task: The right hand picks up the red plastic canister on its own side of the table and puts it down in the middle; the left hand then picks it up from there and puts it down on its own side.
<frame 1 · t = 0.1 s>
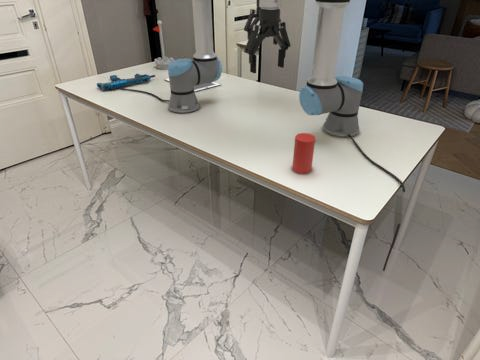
left hand: (267, 69, 131), 28 cm above the table, tool pointing down, fingers open, 13 cm apart
right hand: (263, 45, 167), 28 cm above the table, tool pointing down, fingers open, 13 cm apart
tablet: (192, 82, 209), on the table
submachine gun: (125, 82, 209), on the table
canister: (301, 168, 123), on the table
flag stand: (165, 67, 238), on the table
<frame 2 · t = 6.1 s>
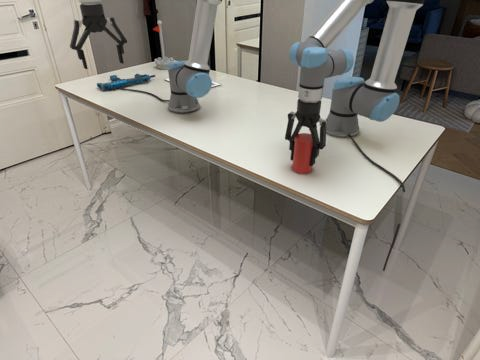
left hand: (104, 65, 130), 30 cm above the table, tool pointing down, fingers open, 13 cm apart
right hand: (302, 161, 121), 3 cm above the table, tool pointing down, fingers closed on canister, 7 cm apart
canister: (301, 168, 123), on the table, touching right hand
everything else where it was.
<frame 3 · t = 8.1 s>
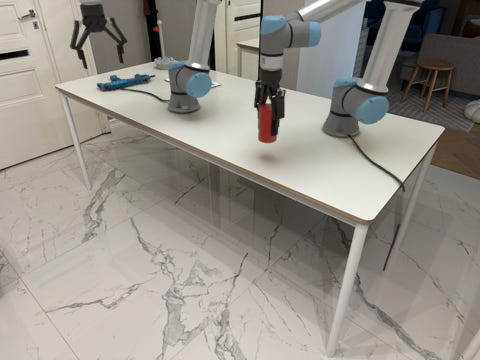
left hand: (104, 65, 130), 30 cm above the table, tool pointing down, fingers open, 13 cm apart
right hand: (267, 131, 125), 11 cm above the table, tool pointing down, fingers closed on canister, 7 cm apart
canister: (267, 139, 126), point 7 cm above the table, touching right hand
everything else where it was.
when the right hand's fingers open (5 cm above the table, at t = 10.0 s): canister drops 2 cm, on the table.
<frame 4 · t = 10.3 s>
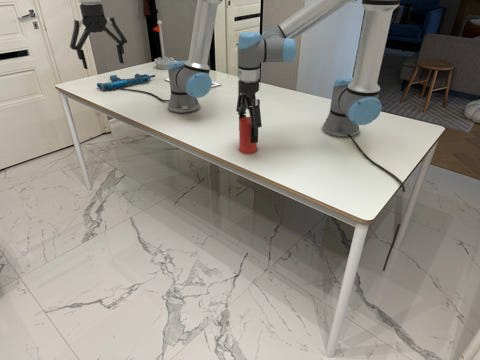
left hand: (104, 65, 130), 30 cm above the table, tool pointing down, fingers open, 13 cm apart
right hand: (248, 136, 132), 6 cm above the table, tool pointing down, fingers open, 10 cm apart
canister: (247, 149, 135), on the table
everything else where it was.
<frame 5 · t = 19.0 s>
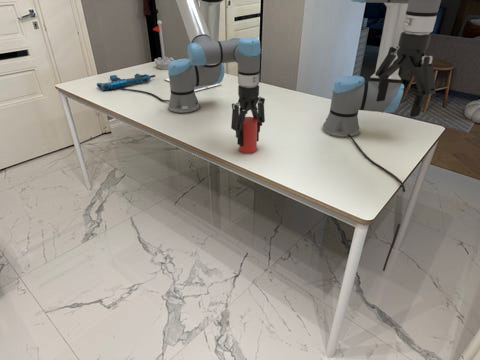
left hand: (248, 142, 134), 3 cm above the table, tool pointing down, fingers closed on canister, 7 cm apart
right hand: (396, 108, 102), 26 cm above the table, tool pointing down, fingers open, 13 cm apart
canister: (247, 149, 135), on the table, touching left hand
everything else where it was.
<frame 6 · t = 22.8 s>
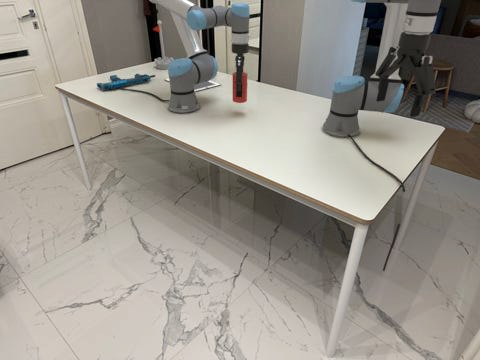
left hand: (239, 94, 161), 10 cm above the table, tool pointing down, fingers closed on canister, 7 cm apart
right hand: (396, 108, 102), 26 cm above the table, tool pointing down, fingers open, 13 cm apart
canister: (239, 100, 162), point 7 cm above the table, touching left hand
everything else where it was.
when the left hand's fingers open (5 cm above the table, at t = 26.8 s): canister drops 2 cm, on the table.
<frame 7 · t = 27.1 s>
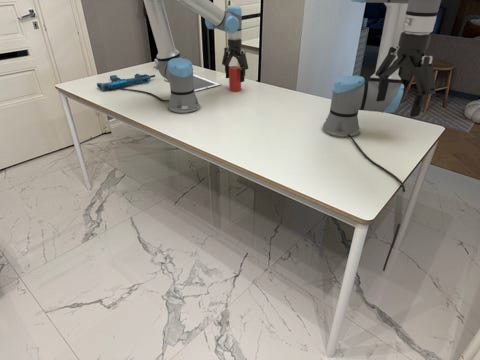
left hand: (235, 79, 194), 6 cm above the table, tool pointing down, fingers open, 10 cm apart
right hand: (396, 108, 102), 26 cm above the table, tool pointing down, fingers open, 13 cm apart
canister: (235, 89, 197), on the table
everything else where it was.
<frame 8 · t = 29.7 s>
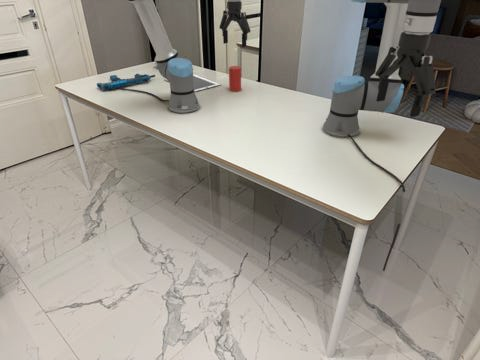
left hand: (234, 44, 184), 25 cm above the table, tool pointing down, fingers open, 13 cm apart
right hand: (396, 108, 102), 26 cm above the table, tool pointing down, fingers open, 13 cm apart
nothing on the table moved.
at the end: canister inside the target area (0.1 cm from its centre), on the table; canister tilted 0°; the two hands never held the canister at the same time; the left hand is holding nothing; the right hand is holding nothing; canister at rest at the end (0.0 cm/s) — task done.
